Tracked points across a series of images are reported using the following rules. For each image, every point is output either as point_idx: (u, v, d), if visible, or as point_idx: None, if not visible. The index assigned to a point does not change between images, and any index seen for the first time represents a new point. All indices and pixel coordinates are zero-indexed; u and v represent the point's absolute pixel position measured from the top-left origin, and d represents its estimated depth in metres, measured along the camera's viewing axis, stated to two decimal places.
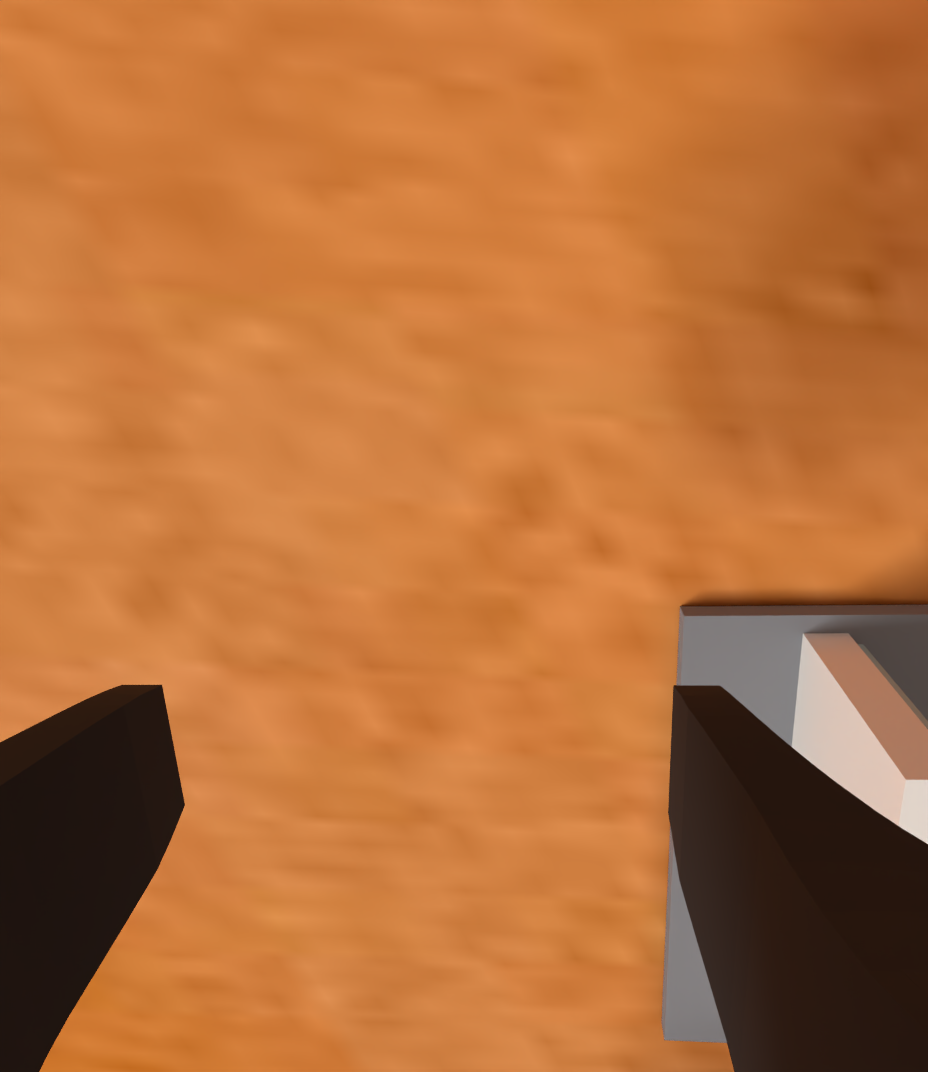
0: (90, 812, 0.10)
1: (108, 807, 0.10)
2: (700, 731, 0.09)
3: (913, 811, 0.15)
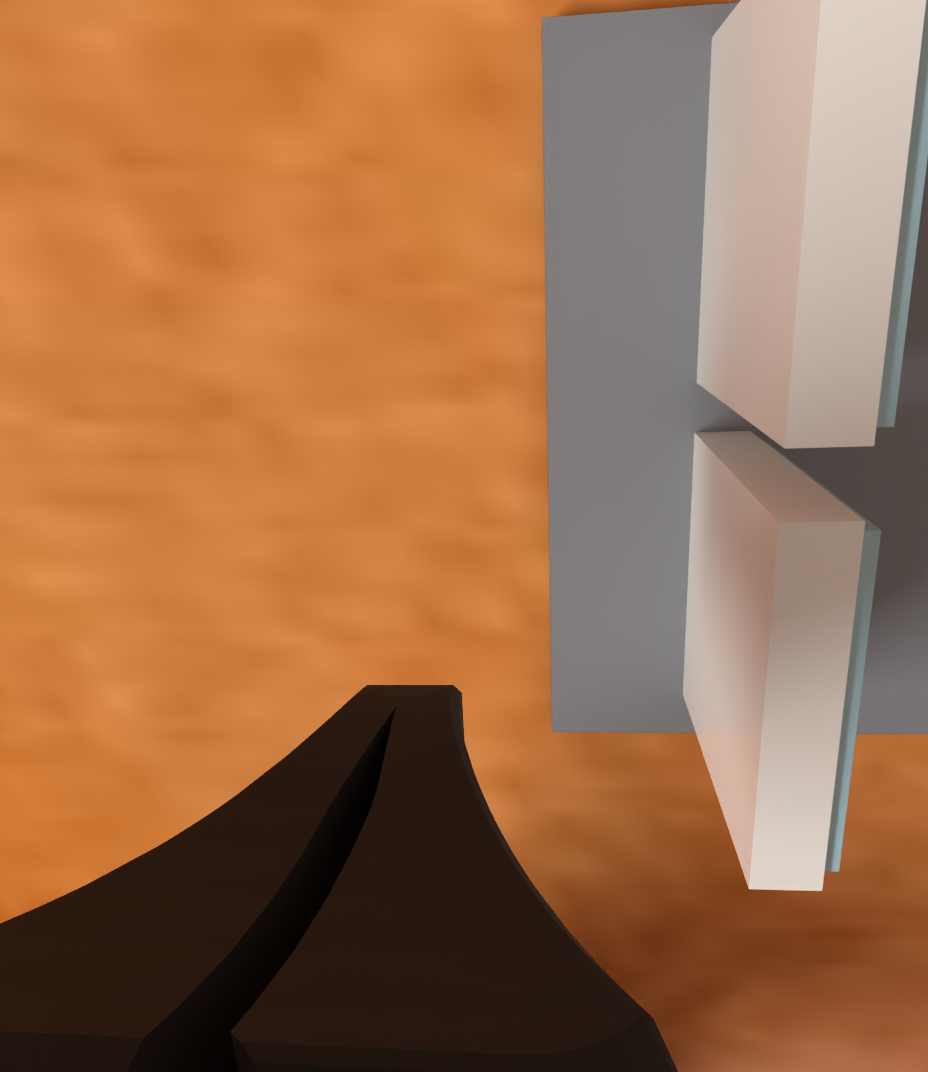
0: None
1: None
2: None
3: None
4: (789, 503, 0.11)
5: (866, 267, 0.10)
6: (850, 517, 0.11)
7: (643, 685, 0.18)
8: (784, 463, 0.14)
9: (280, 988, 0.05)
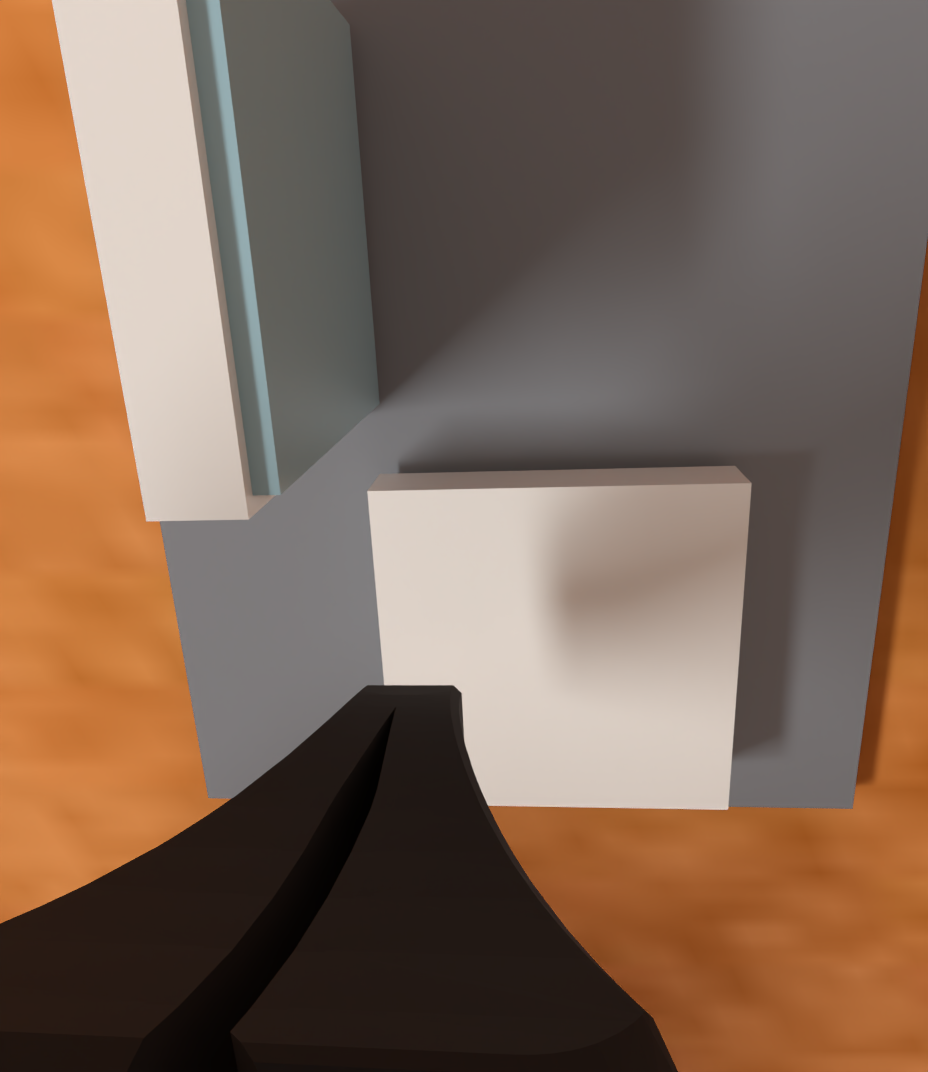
0: None
1: None
2: None
3: None
4: (690, 478, 0.13)
5: (185, 302, 0.08)
6: (726, 467, 0.13)
7: None
8: (540, 471, 0.14)
9: (281, 988, 0.05)
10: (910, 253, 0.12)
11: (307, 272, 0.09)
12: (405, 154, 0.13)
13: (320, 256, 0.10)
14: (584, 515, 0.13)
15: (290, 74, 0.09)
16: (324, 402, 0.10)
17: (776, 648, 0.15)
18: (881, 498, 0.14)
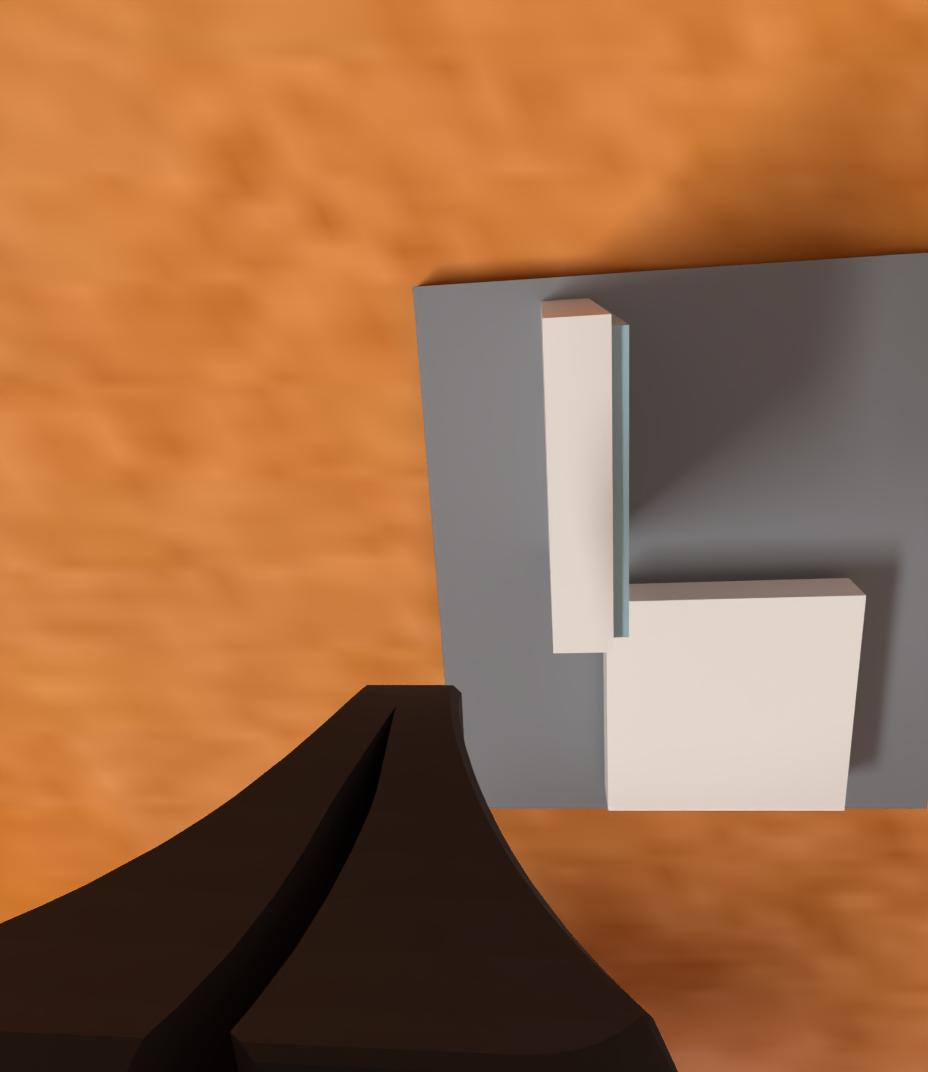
0: None
1: None
2: None
3: (558, 361, 0.13)
4: (822, 590, 0.19)
5: (594, 541, 0.14)
6: (844, 579, 0.20)
7: (524, 772, 0.23)
8: (715, 583, 0.20)
9: (280, 988, 0.05)
10: None
11: None
12: (631, 381, 0.19)
13: None
14: (752, 616, 0.19)
15: None
16: None
17: (873, 697, 0.21)
18: None
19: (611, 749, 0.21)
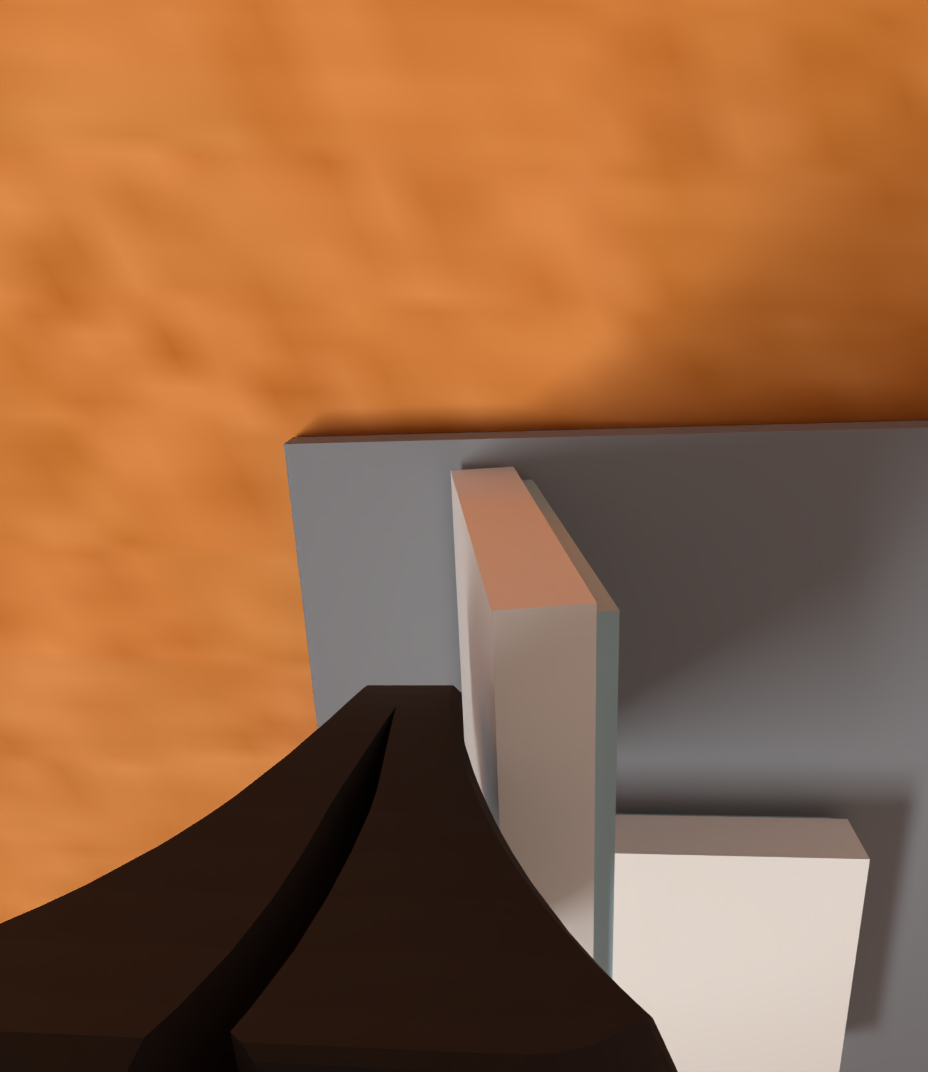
0: None
1: None
2: None
3: (515, 670, 0.09)
4: (813, 843, 0.15)
5: (567, 900, 0.10)
6: (841, 823, 0.15)
7: None
8: (676, 819, 0.16)
9: (280, 989, 0.05)
10: None
11: None
12: None
13: None
14: (722, 877, 0.15)
15: None
16: None
17: (875, 951, 0.17)
18: None
19: None
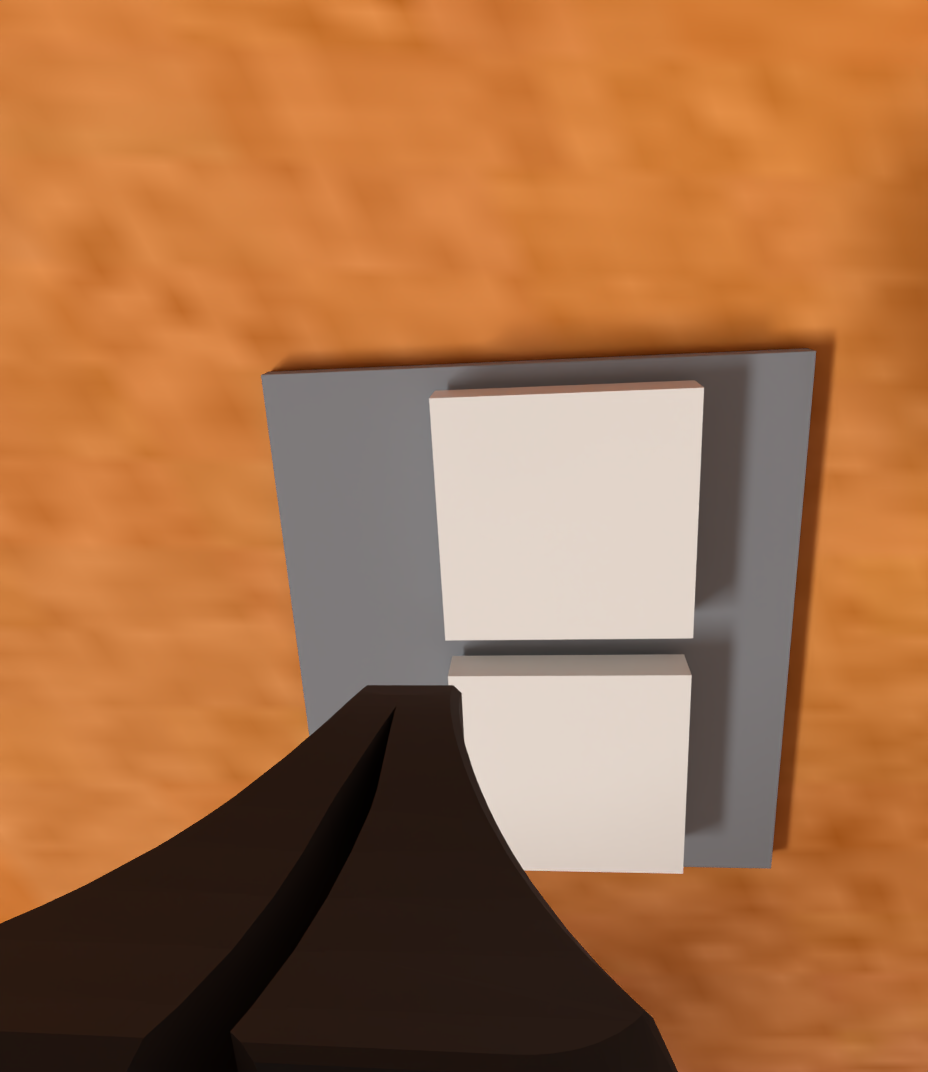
0: None
1: None
2: None
3: (700, 417, 0.18)
4: (654, 668, 0.20)
5: None
6: (678, 656, 0.21)
7: None
8: (558, 657, 0.21)
9: (280, 989, 0.05)
10: (791, 529, 0.20)
11: None
12: None
13: None
14: (586, 692, 0.20)
15: None
16: None
17: (715, 764, 0.22)
18: (780, 672, 0.21)
19: None
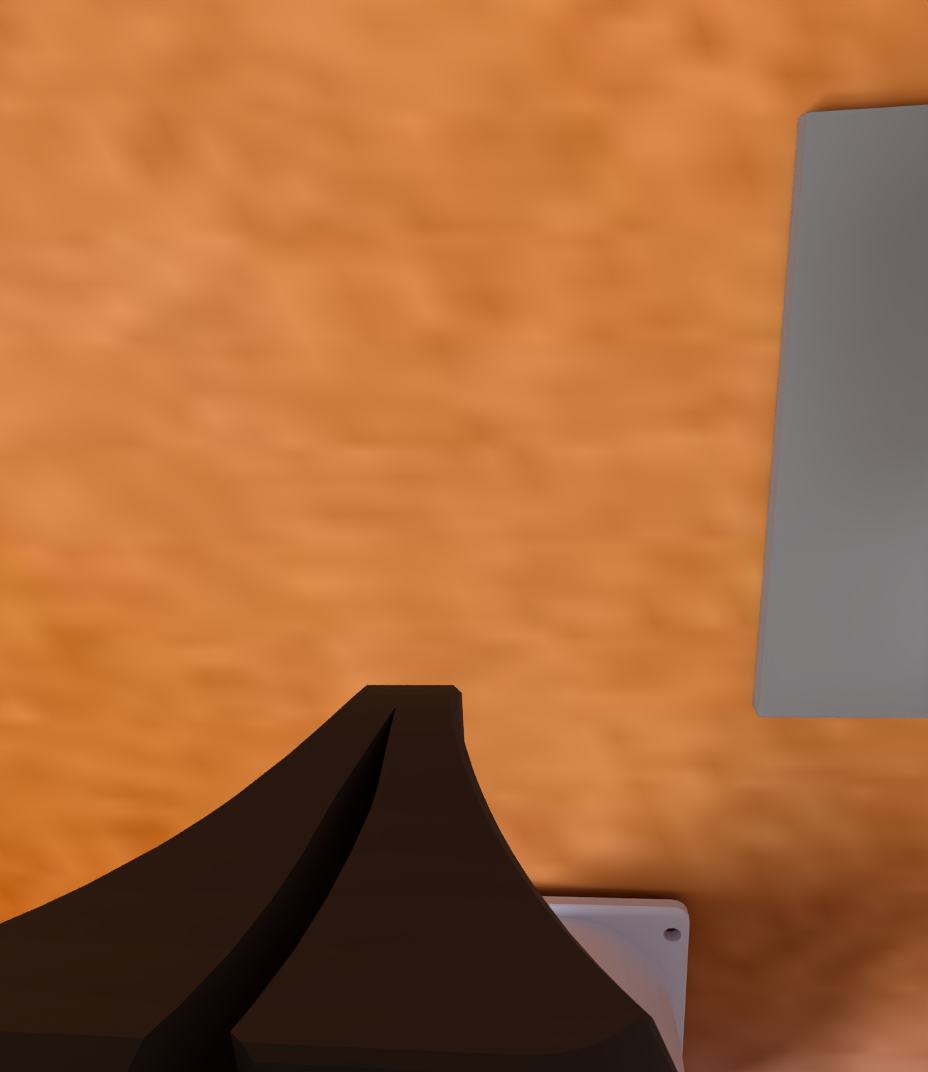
0: None
1: None
2: None
3: None
4: None
5: None
6: None
7: (843, 676, 0.21)
8: None
9: (280, 988, 0.05)
10: None
11: None
12: None
13: None
14: None
15: None
16: None
17: None
18: None
19: None
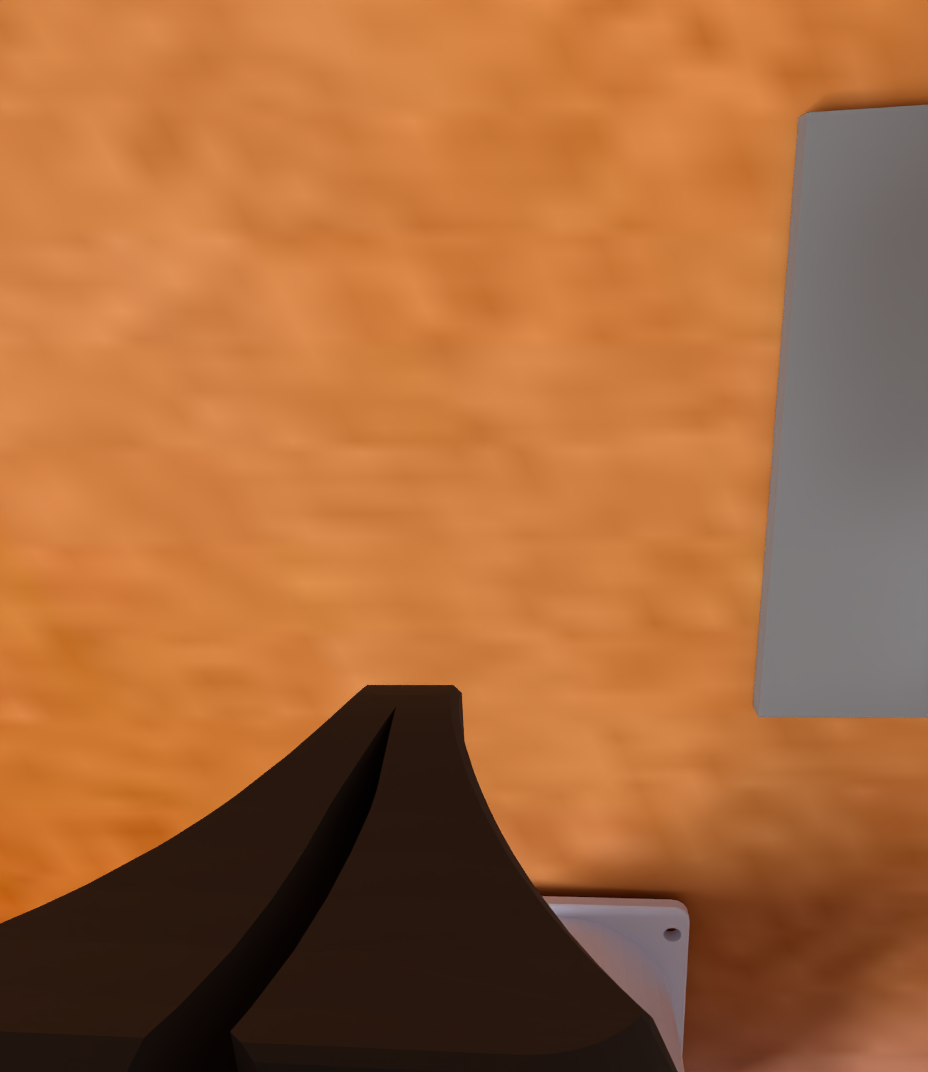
0: None
1: None
2: None
3: None
4: None
5: None
6: None
7: (843, 676, 0.21)
8: None
9: (280, 988, 0.05)
10: None
11: None
12: None
13: None
14: None
15: None
16: None
17: None
18: None
19: None
